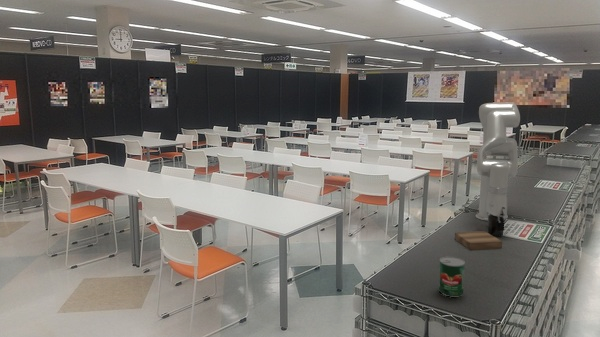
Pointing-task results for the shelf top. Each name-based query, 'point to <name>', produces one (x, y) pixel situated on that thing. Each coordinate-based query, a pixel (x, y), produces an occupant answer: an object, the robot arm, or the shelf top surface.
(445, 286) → the canned tomato
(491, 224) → the supplement bottle
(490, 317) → the shelf top surface
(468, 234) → the wavy wooden tray
